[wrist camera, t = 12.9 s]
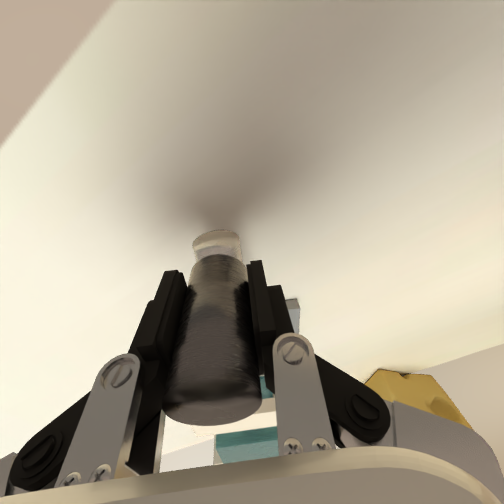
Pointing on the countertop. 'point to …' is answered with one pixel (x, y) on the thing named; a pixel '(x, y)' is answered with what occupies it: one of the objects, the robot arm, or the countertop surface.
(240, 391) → the shaft
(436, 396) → the cheese
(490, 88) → the countertop surface
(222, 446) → the frame
